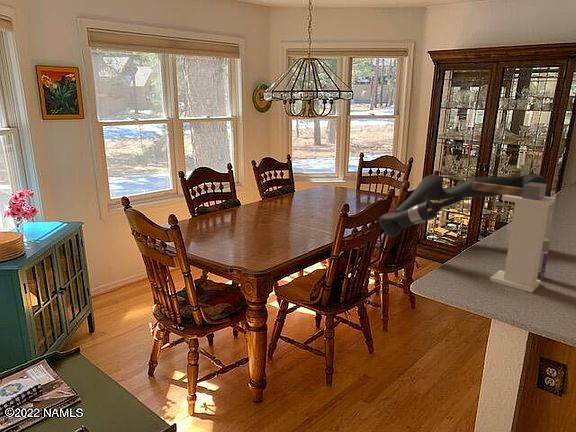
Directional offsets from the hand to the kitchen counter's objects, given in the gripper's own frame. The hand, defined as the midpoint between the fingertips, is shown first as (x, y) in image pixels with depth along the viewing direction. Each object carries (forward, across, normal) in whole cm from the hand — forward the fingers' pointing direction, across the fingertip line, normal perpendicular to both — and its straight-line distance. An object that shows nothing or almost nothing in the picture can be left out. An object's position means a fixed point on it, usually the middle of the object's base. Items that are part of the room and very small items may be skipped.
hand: (458, 198), depth 165 cm
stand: (+7, 0, +36) cm, 36 cm away
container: (+11, +11, +38) cm, 41 cm away
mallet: (+17, 0, +4) cm, 17 cm away
